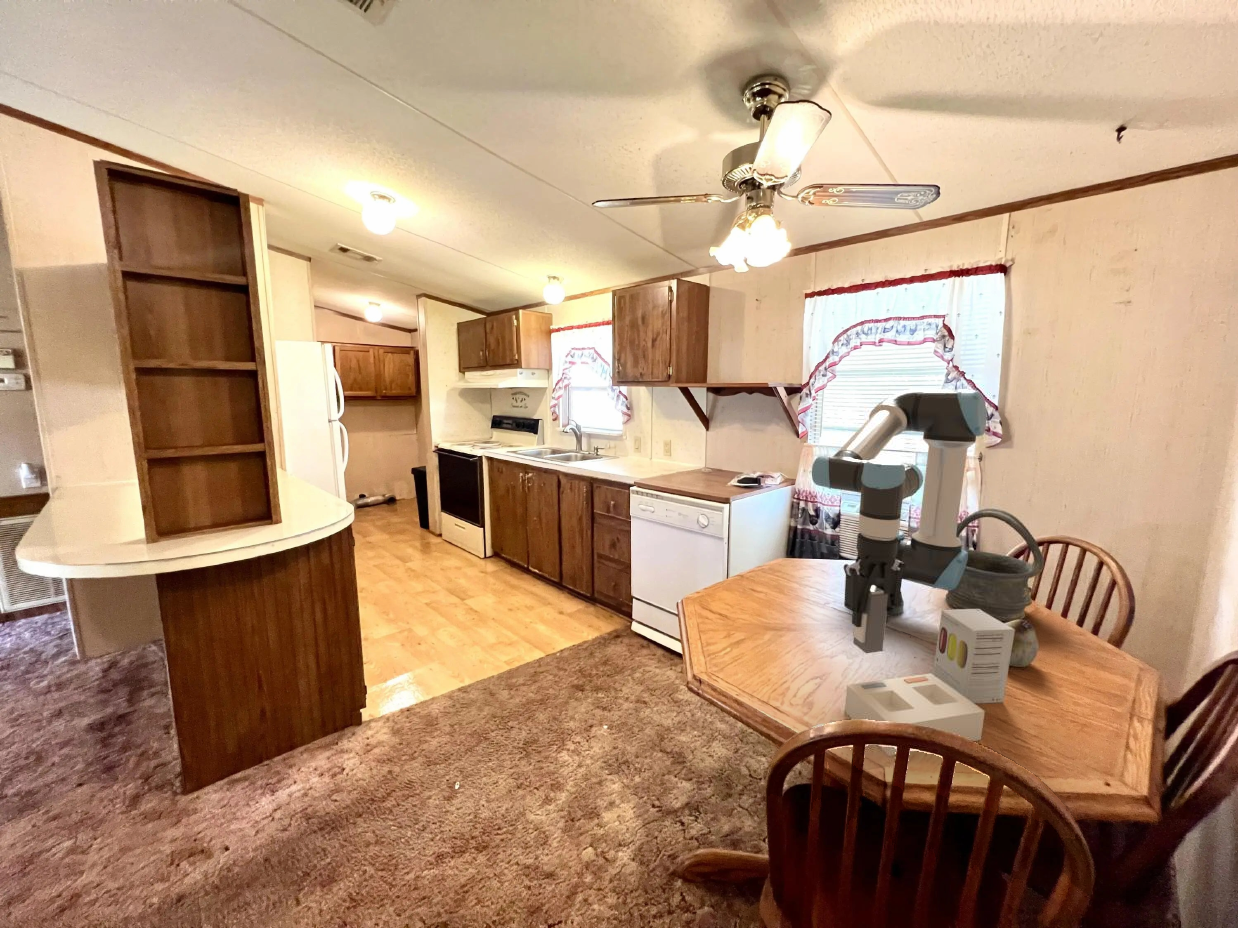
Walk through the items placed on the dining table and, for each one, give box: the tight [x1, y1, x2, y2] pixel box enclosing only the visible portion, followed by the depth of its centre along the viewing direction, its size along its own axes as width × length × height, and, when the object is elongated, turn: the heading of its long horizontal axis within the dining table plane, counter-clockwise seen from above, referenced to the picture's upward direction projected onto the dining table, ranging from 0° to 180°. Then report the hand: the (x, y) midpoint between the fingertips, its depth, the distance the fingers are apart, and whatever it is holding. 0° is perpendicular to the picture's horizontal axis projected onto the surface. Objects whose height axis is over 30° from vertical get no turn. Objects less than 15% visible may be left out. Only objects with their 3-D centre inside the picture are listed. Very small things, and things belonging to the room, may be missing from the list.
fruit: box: [1003, 619, 1040, 668], centre depth 114 cm, size 10×9×12 cm
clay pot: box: [945, 508, 1045, 622], centre depth 141 cm, size 22×23×30 cm
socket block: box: [844, 673, 986, 757], centre depth 93 cm, size 20×12×6 cm, turn 102°
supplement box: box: [932, 608, 1015, 705], centre depth 103 cm, size 10×9×17 cm
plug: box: [852, 585, 888, 654], centre depth 102 cm, size 4×4×14 cm
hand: (868, 637), depth 103 cm, fingers closed on plug, 4 cm apart
